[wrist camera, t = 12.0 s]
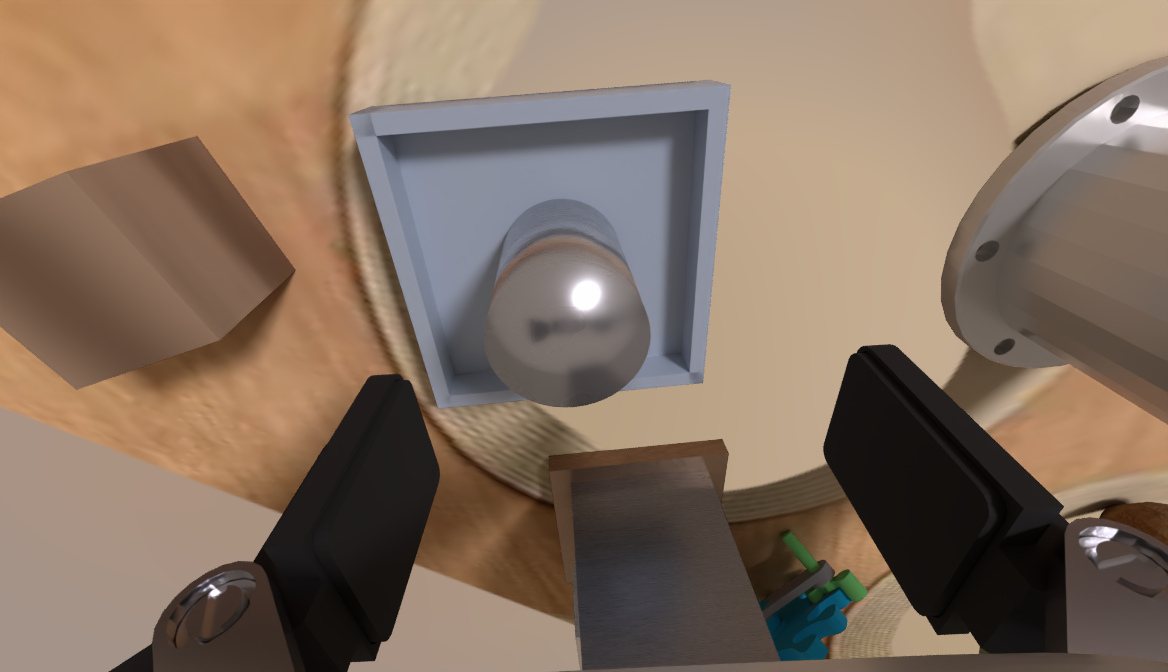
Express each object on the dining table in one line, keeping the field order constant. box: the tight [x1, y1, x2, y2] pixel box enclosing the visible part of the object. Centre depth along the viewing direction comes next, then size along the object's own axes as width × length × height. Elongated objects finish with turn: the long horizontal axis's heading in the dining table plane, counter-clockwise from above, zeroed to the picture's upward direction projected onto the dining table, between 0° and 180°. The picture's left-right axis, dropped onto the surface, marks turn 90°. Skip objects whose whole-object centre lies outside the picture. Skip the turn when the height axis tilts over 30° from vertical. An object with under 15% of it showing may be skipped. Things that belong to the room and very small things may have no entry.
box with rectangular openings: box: [549, 439, 780, 671], centre depth 22 cm, size 9×10×10 cm
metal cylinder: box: [484, 199, 651, 407], centre depth 15 cm, size 4×4×6 cm
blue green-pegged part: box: [757, 531, 868, 661], centre depth 29 cm, size 11×6×10 cm
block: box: [0, 136, 295, 390], centre depth 15 cm, size 5×5×5 cm
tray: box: [349, 80, 731, 409], centre depth 17 cm, size 11×11×2 cm
